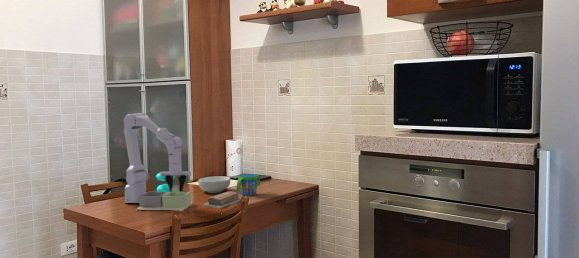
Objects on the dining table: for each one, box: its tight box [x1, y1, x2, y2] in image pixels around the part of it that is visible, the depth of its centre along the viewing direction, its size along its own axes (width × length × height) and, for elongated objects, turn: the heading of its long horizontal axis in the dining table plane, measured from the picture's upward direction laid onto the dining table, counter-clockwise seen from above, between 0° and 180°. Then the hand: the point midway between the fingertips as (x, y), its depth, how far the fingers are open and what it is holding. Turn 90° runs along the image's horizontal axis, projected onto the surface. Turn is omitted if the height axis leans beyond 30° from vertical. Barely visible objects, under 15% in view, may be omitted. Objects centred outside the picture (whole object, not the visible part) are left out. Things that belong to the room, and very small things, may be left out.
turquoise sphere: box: [155, 172, 176, 193], centre depth 267 cm, size 10×10×10 cm
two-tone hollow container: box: [136, 191, 193, 212], centre depth 233 cm, size 22×14×6 cm, turn 84°
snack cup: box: [236, 173, 261, 197], centre depth 255 cm, size 16×10×10 cm
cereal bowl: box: [197, 175, 231, 194], centre depth 264 cm, size 17×17×7 cm
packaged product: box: [203, 190, 242, 209], centre depth 238 cm, size 18×5×10 cm
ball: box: [172, 184, 180, 194], centre depth 232 cm, size 4×4×4 cm
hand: (176, 191), depth 232 cm, fingers closed on ball, 4 cm apart
